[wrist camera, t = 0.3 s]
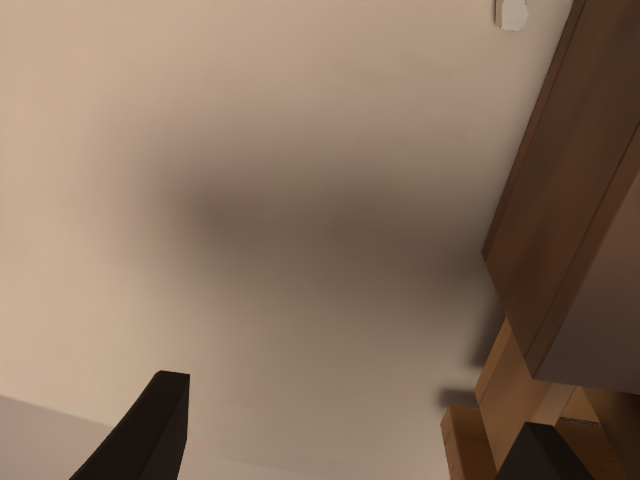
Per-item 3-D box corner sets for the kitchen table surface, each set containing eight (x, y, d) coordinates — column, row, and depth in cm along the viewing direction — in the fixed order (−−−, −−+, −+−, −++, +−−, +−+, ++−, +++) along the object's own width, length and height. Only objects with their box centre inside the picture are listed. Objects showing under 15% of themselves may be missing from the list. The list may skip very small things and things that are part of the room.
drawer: (646, 528, 25) (697, 632, 21) (409, 497, 24) (420, 599, 21) (925, 195, 16) (1094, 279, 12) (558, 134, 15) (623, 203, 12)
